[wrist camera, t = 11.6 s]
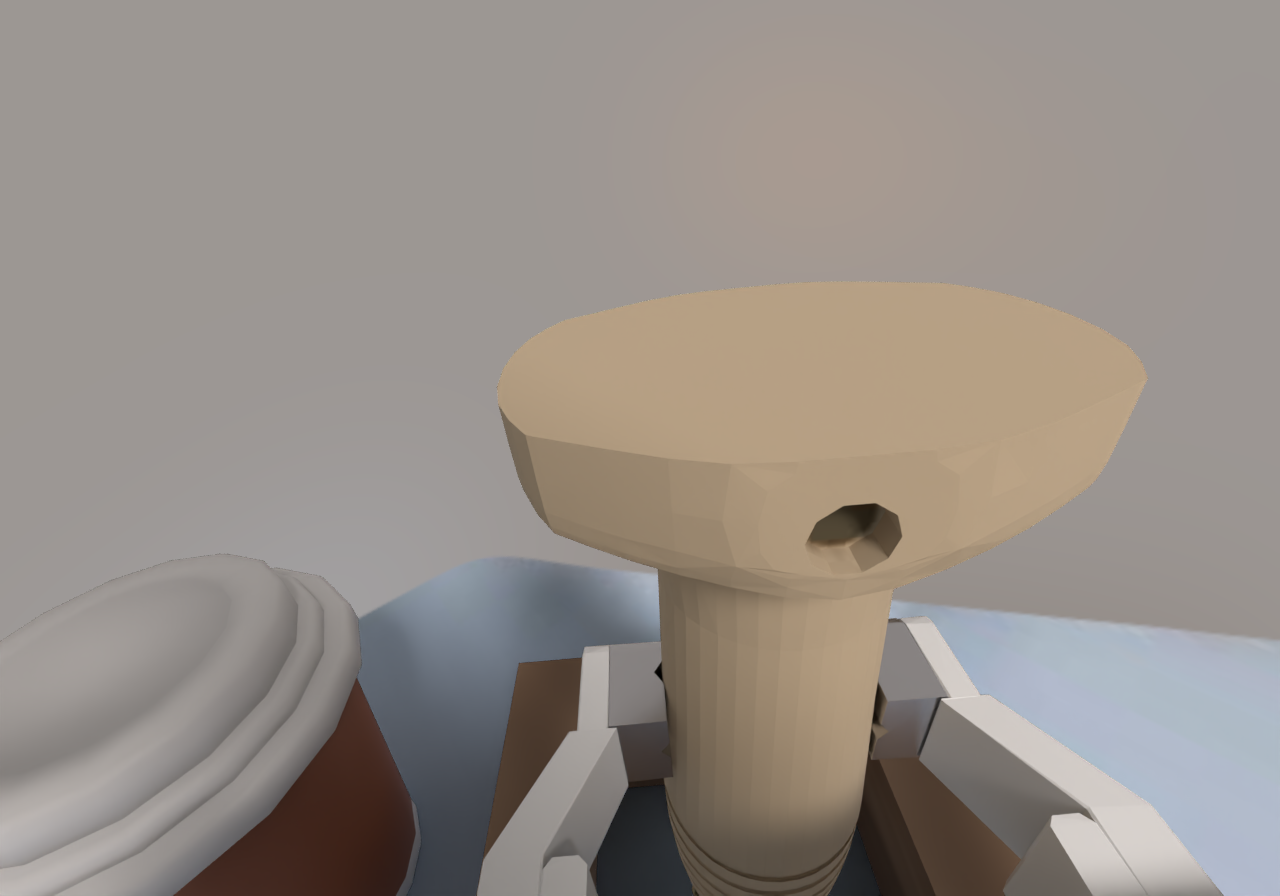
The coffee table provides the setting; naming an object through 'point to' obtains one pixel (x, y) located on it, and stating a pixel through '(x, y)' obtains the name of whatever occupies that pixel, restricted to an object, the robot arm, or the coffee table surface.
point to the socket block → (888, 820)
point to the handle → (800, 513)
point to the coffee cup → (197, 743)
